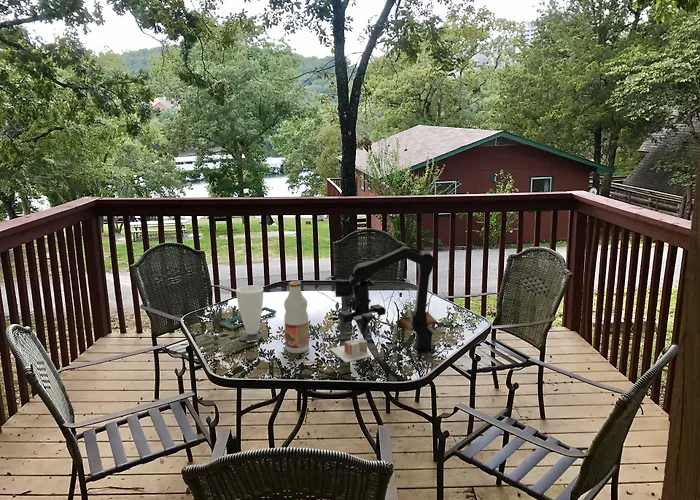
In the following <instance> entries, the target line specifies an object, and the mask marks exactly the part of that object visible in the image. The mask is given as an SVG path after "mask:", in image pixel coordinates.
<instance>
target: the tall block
mask: <svg viewBox="0 0 700 500" xmlns="http://www.w3.org/2000/svg"><path fill="white" fill-rule="evenodd" d="M343 343H344V345H343V346H344V350H345V352H346V353H347V354H349V355H351V354H355V353H359V352H363V351H365V352H368V341H367V340H366V339H364V338H363V337H360V338H355V339H352V340H351V339H350V340H346V341H344V342H343Z"/></svg>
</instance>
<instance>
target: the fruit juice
mask: <svg viewBox="0 0 700 500" xmlns="http://www.w3.org/2000/svg"><path fill="white" fill-rule="evenodd" d="M301 287H302V282H301V281H299V280H292V281H289V282H288V288H289V292H288V296H286V298H285V299H284V303H283V307H284V309H285V313H284V337H285V339H284V340H285V350H286V351H287V352H288V353H291V354H301V353H305V352H307V351H308V350H309V348H310V335H309V334H310V332H309V330H310V329H309V327H310V326H309V314H308V312H307V308H308V300H307V299H306V297H305V296H304V295H303V292H302V289H301Z"/></svg>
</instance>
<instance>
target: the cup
mask: <svg viewBox="0 0 700 500" xmlns="http://www.w3.org/2000/svg"><path fill="white" fill-rule="evenodd" d="M235 293H236V294H235V295H236V299H237V304H238V308H239V314H240V315H241V317H242V321H243V324H244V326H243V327H244V328H245V329H244V330H245V333H247V334H245V333H244V334H245V335H244V336H242V337H241V339H240V338H238V339H239V341H240V340H241V341H240V342H242V340H243V341H244V340H246V341H252V340H257V339H260V338H261V337H262V335H261V334H259V333H258V332H259V328H260V325H261V321H262V320H261V313H262V308H263V303H264V287H262V286H260V285H252V284H251V285H243V286H240V287H237V288H236V290H235Z"/></svg>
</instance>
